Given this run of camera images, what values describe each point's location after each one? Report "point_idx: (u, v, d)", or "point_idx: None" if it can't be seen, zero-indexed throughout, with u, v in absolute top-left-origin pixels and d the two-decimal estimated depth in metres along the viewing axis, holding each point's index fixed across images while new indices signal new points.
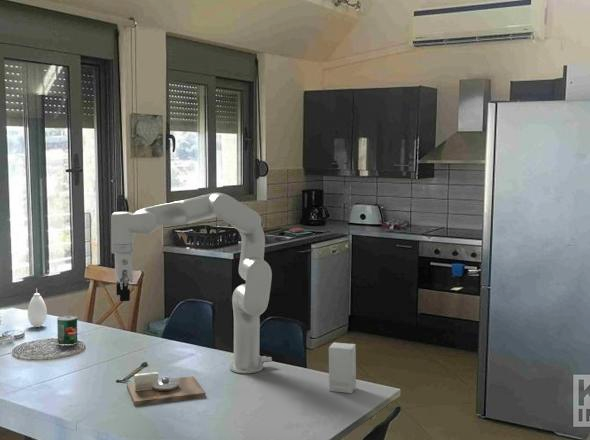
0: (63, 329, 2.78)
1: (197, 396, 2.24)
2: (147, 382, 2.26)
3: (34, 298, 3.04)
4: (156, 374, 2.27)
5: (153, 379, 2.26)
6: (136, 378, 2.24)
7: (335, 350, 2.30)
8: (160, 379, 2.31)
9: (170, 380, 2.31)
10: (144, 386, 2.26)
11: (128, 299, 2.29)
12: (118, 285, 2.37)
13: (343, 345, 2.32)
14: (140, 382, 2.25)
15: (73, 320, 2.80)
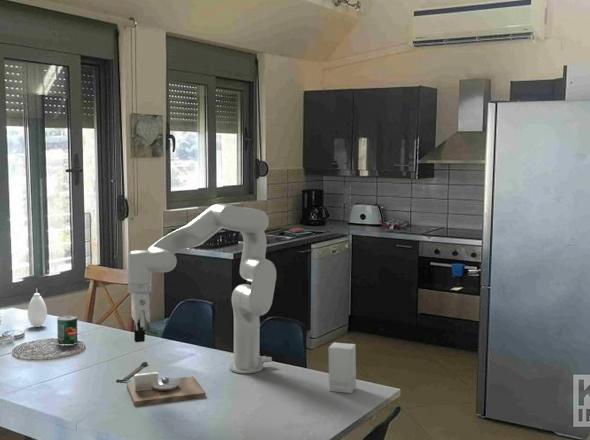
0: (63, 329, 2.78)
1: (197, 396, 2.24)
2: (147, 382, 2.26)
3: (34, 298, 3.04)
4: (156, 374, 2.27)
5: (153, 379, 2.26)
6: (136, 378, 2.24)
7: (335, 350, 2.30)
8: (160, 379, 2.31)
9: (170, 380, 2.31)
10: (144, 386, 2.26)
11: (143, 340, 2.29)
12: None
13: (343, 345, 2.32)
14: (140, 382, 2.25)
15: (73, 320, 2.80)
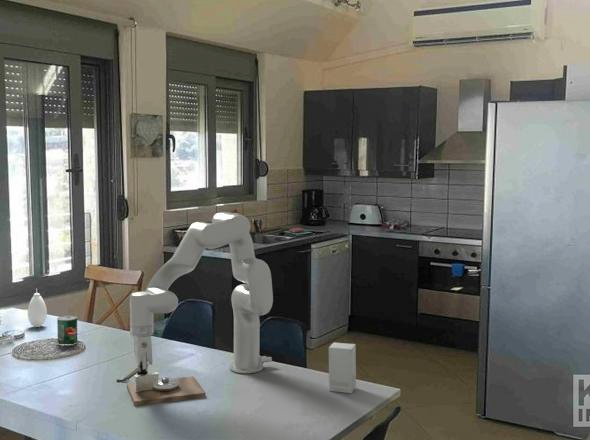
0: (63, 329, 2.78)
1: (197, 396, 2.24)
2: (148, 383, 2.25)
3: (34, 298, 3.04)
4: (156, 374, 2.26)
5: (154, 379, 2.26)
6: (137, 379, 2.23)
7: (335, 350, 2.30)
8: (159, 379, 2.31)
9: (170, 380, 2.31)
10: (145, 387, 2.25)
11: None
12: None
13: (343, 345, 2.32)
14: (141, 383, 2.24)
15: (73, 320, 2.80)
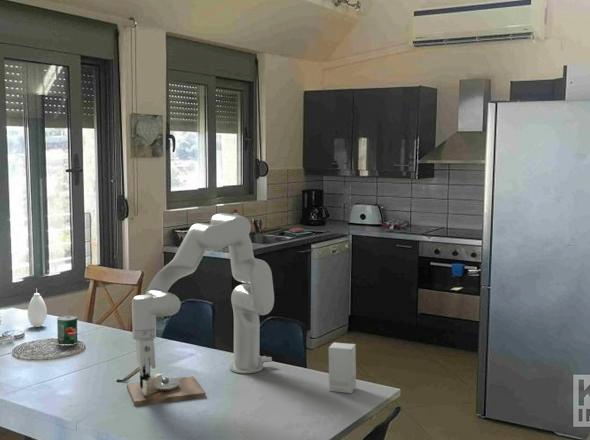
0: (63, 329, 2.78)
1: (197, 396, 2.24)
2: (154, 385, 2.23)
3: (34, 298, 3.04)
4: (160, 375, 2.25)
5: (158, 381, 2.25)
6: (147, 383, 2.20)
7: (335, 350, 2.30)
8: None
9: None
10: (152, 390, 2.22)
11: None
12: None
13: (343, 345, 2.32)
14: (150, 386, 2.21)
15: (73, 320, 2.80)
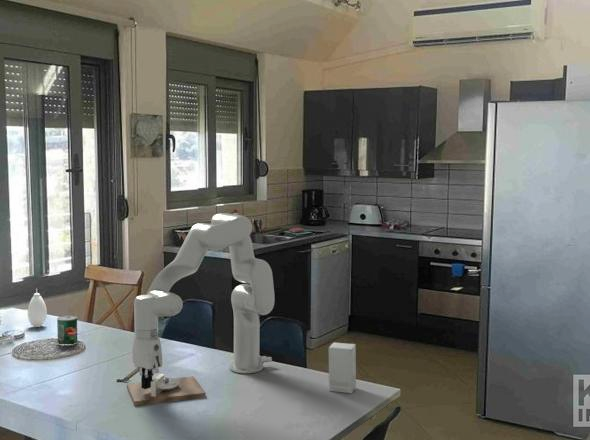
0: (63, 329, 2.78)
1: (197, 396, 2.24)
2: (160, 385, 2.23)
3: (34, 298, 3.04)
4: (163, 375, 2.25)
5: (162, 381, 2.25)
6: (156, 384, 2.19)
7: (335, 350, 2.30)
8: None
9: None
10: (159, 390, 2.22)
11: None
12: None
13: (343, 345, 2.32)
14: (157, 387, 2.20)
15: (73, 320, 2.80)
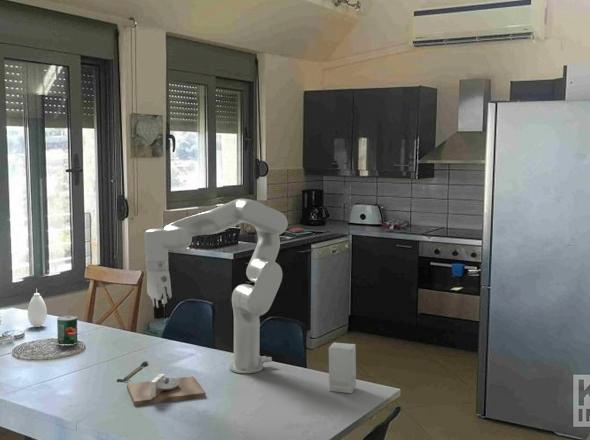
0: (63, 329, 2.78)
1: (197, 396, 2.24)
2: (160, 385, 2.23)
3: (34, 298, 3.04)
4: (163, 375, 2.25)
5: (162, 381, 2.25)
6: (156, 384, 2.19)
7: (335, 350, 2.30)
8: None
9: None
10: (159, 390, 2.22)
11: (163, 316, 2.34)
12: None
13: (343, 345, 2.32)
14: (157, 387, 2.20)
15: (73, 320, 2.80)
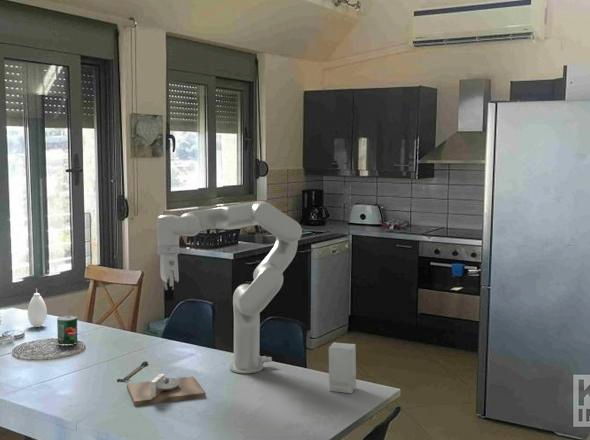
0: (63, 329, 2.78)
1: (197, 396, 2.24)
2: (160, 385, 2.23)
3: (34, 298, 3.04)
4: (163, 375, 2.25)
5: (162, 381, 2.25)
6: (156, 384, 2.19)
7: (335, 350, 2.30)
8: None
9: None
10: (159, 390, 2.22)
11: (172, 299, 2.44)
12: None
13: (343, 345, 2.32)
14: (157, 387, 2.20)
15: (73, 320, 2.80)
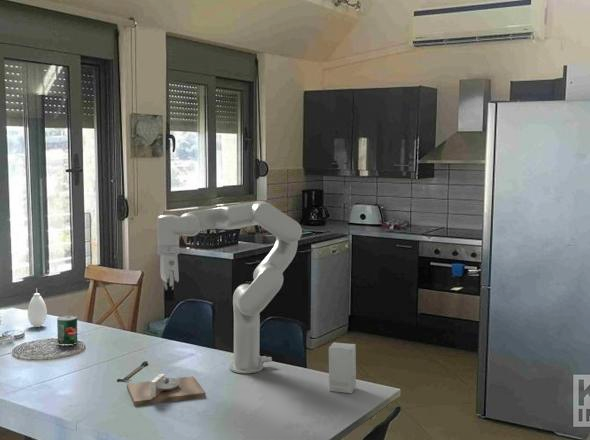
0: (63, 329, 2.78)
1: (197, 396, 2.24)
2: (160, 385, 2.23)
3: (34, 298, 3.04)
4: (163, 375, 2.25)
5: (162, 381, 2.25)
6: (156, 384, 2.19)
7: (335, 350, 2.30)
8: None
9: None
10: (159, 390, 2.22)
11: (172, 299, 2.44)
12: None
13: (343, 345, 2.32)
14: (157, 387, 2.20)
15: (73, 320, 2.80)
